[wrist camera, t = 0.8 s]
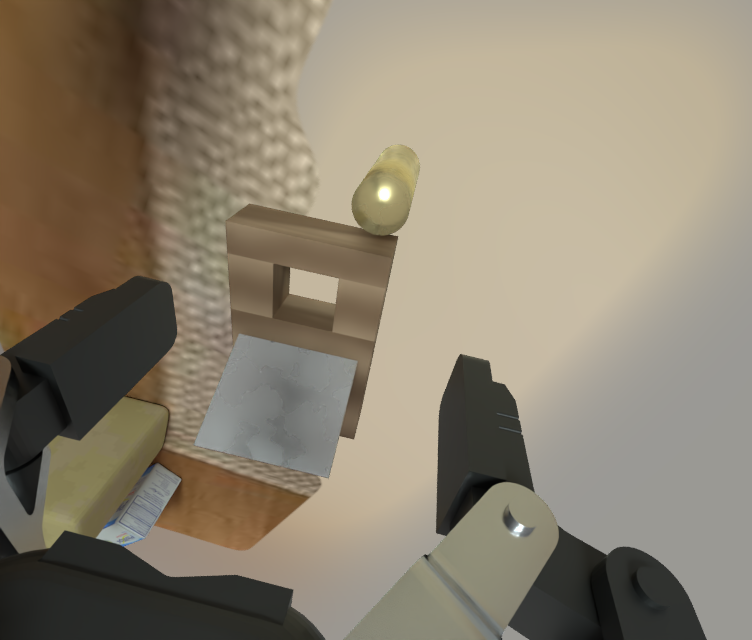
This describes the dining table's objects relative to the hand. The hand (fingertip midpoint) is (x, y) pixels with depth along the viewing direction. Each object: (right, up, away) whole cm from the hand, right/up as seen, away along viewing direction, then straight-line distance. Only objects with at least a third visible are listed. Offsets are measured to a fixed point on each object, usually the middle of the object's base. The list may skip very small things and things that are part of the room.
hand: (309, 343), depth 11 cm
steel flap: (-6, -6, +20) cm, 22 cm away
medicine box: (-30, -22, +46) cm, 59 cm away
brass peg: (+3, +11, +17) cm, 20 cm away
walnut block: (-4, 0, +25) cm, 26 cm away
